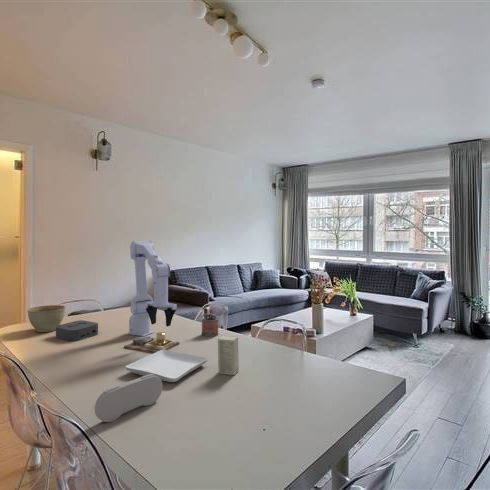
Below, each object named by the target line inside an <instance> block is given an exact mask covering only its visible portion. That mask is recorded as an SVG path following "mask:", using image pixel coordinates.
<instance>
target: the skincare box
mask: <svg viewBox="0 0 490 490" xmlns="http://www.w3.org/2000/svg"><path fill="white" fill-rule="evenodd" d="M217 359H218V361H217V362H218V364H217V365H218V368H217V369H218V374H222V375H230V376H235V375H237V373H238V372H239V371H240V370H239V368H240V366H239V365H240V364H239V337H238V336H231V335H221V336H220V337H219V338H217Z"/></svg>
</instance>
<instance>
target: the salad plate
mask: <svg viewBox="0 0 490 490" xmlns="http://www.w3.org/2000/svg"><path fill="white" fill-rule="evenodd" d="M208 360H209V357H206V356H202V355H196V354H191V353H186V352H182V351H181V352H180V351H177V350H176V351H175V350H170V349H168V350H160V351H158V352H156V353H150V354H149V355H146V356H145V357H142V358H140V359H138V360H136V361H134V362H132V363H131V362H130V363H129V364H127V365H125V366H124V368H125V370H127V371H129V372H131V373H133V374H135V375H140V376H141V377H142V376H145V375H149V374H154V375H155V376H157V377H159V378H160V379H161V381H164V382H169V383H175V382H177V381H179V380H181V378H184V377H185V376H187V375H188V374H190V373H192V372H193V371H194V370H197V369H198V368H200V367H202V366H203V365H204V364H206V363H207V362H208Z"/></svg>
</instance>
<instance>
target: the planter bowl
mask: <svg viewBox="0 0 490 490" xmlns="http://www.w3.org/2000/svg"><path fill="white" fill-rule="evenodd" d="M65 311H66V306H65V305H62V304H61V305H58V304H57V305H55V304H53V305H52V304H50V305H40V306H35V307H34V306H33V307H30V308H28V309H27V316H28V320H29V323H30V324H31V326H32V327H33V328H34V329H35V332H37V333H48V332H53V331H56V326H58V325H61V324H62V322H63V320H64V317H65Z"/></svg>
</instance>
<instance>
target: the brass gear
mask: <svg viewBox="0 0 490 490" xmlns="http://www.w3.org/2000/svg"><path fill="white" fill-rule="evenodd" d="M156 339H157V341H155V342H154V345H157V346H164V345H166V344H168V341H166V340H165V339H166V332H163V331H159V332H157V333H156Z"/></svg>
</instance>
